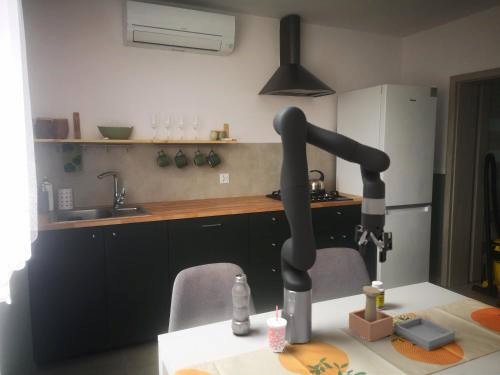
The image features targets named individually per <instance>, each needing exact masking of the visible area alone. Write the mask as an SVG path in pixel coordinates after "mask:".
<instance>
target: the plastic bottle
mask: <svg viewBox="0 0 500 375" xmlns="http://www.w3.org/2000/svg"><path fill="white" fill-rule="evenodd" d="M234 281H235V283H234V284H233V286H232V289H231V297H232V298H231V299H232V308H233V309H232V310H233V311H232V319H231V329H232V332H233V333H234V334H235V335H246V334H248V333H249V332H250V330H251V326H252V325H251V319H250V310H249V309H250V308H249V306H250V296H251V288H250V285H249V284H248V283H247V275H246V274H244V273H238V274H236V275H235V279H234Z"/></svg>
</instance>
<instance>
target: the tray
mask: <svg viewBox="0 0 500 375" xmlns="http://www.w3.org/2000/svg"><path fill="white" fill-rule="evenodd" d="M393 327H394V328H393V329H394V331H393V332H394V333H393V334H395V335H397V336H399V337H401V338H403V339H404V340H407V341H408V342H411V343H412V344H413V345H414V344H415V345H416V346H418V347H420V348H421V349H423V350H426V351H427V352H429V351H432V350H435V349H437V348H441V347H443V346H445V345H448V344H449V343H453V342H455V340H456V338H455V336H456V332H455V331H454V330H452V329H450V328H447V327H444V326H443V325H440V324H439V323H436V322H434V321H431V320H429V319H427V318H424V317H422V316H417V317H414V318H411V319H408V320H405V321H401V322H398V323H395V324H393Z"/></svg>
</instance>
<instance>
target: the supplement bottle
mask: <svg viewBox="0 0 500 375" xmlns="http://www.w3.org/2000/svg"><path fill="white" fill-rule="evenodd" d="M371 286H372V287H375V288H377V289H379V290H380V296H378V297H376V307H377V310H379V311H382V310H383V309H385V296H386V295H385V294H386V293H385V292H386V291H385V290H386V289H385V287H384V283H383V282H382V281H379V280H373V281H372V282H371Z"/></svg>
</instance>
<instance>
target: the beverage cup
mask: <svg viewBox="0 0 500 375" xmlns="http://www.w3.org/2000/svg"><path fill="white" fill-rule="evenodd" d="M278 307H279V306H278V305H276V306H275V308H276V309H275V311H276V312H275V314H276V315H275V317H271V318H269V319H267V320H266V323H267V327H268V344H269V351H270V350H271V351H275V352H279V351H282V350H283V349H284V350H285V344H286V342H285V341H286V340H285V330H286V326H287V321H286V320H285V319H283V318H281V317H279V308H278ZM271 351H270V352H271Z"/></svg>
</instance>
